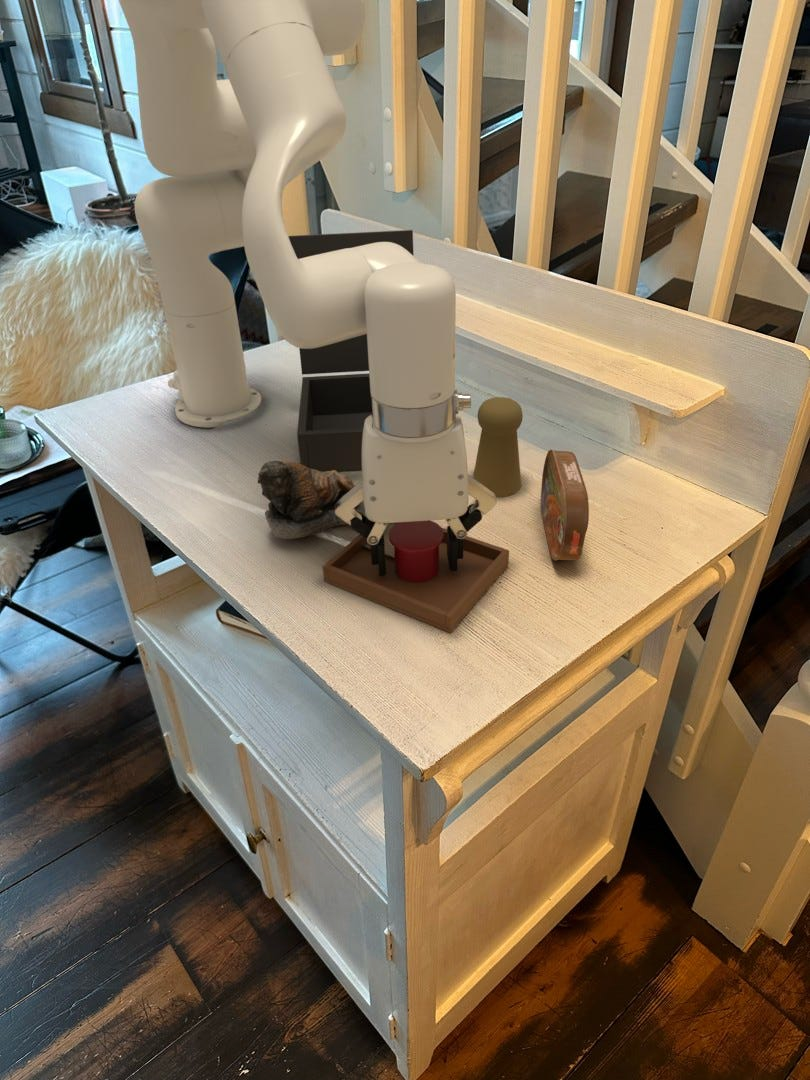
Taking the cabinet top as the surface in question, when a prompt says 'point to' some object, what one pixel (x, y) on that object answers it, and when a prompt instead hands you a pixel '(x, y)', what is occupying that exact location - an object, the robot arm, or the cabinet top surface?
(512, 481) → the olive pawn piece
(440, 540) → the coffee pod
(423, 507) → the robot arm
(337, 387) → the pod bay
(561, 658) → the cabinet top surface
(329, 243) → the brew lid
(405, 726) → the cabinet top surface
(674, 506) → the cabinet top surface
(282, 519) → the bison figurine
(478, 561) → the tray
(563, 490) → the tin
